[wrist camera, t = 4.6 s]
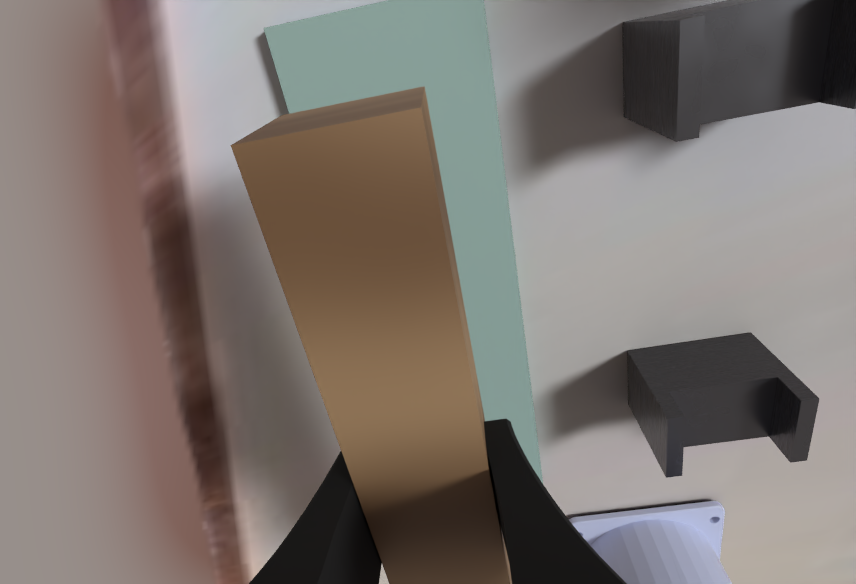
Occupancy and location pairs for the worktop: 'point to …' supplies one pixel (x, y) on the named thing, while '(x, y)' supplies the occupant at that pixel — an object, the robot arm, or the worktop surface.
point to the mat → (456, 151)
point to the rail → (383, 325)
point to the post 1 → (737, 62)
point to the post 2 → (717, 398)
